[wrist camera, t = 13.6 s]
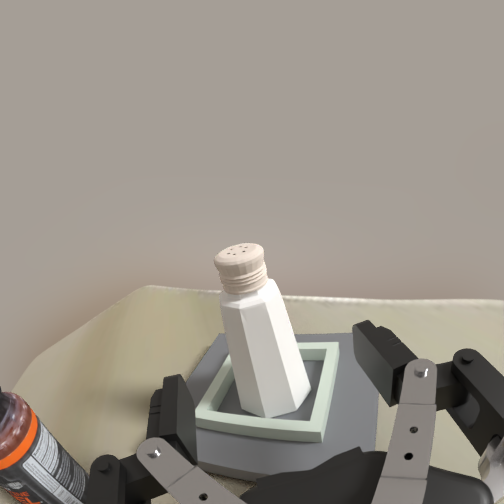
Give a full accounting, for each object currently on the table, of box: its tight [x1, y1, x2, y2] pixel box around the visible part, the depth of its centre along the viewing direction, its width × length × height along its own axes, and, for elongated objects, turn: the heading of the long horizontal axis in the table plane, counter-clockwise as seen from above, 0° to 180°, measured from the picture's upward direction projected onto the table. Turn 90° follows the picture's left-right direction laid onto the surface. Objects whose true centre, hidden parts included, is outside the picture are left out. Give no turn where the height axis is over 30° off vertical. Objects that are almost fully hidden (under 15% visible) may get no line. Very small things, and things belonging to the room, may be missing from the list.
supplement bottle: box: [0, 387, 89, 504], centre depth 12 cm, size 6×6×11 cm
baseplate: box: [185, 333, 379, 482], centre depth 21 cm, size 15×14×3 cm
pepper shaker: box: [214, 243, 311, 418], centre depth 19 cm, size 5×5×11 cm
